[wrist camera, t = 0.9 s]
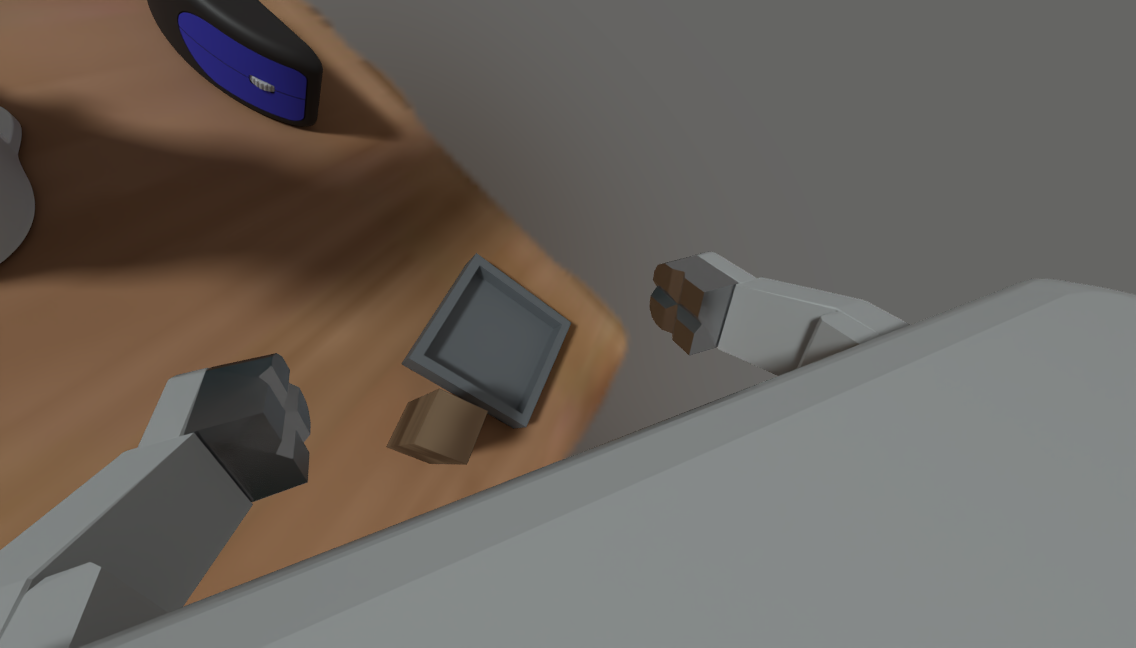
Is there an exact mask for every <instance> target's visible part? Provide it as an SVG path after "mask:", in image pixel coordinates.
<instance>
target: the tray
mask: <svg viewBox="0 0 1136 648" xmlns="http://www.w3.org/2000/svg"><path fill="white" fill-rule="evenodd" d="M570 324H571V322H570V321H568V320H567V319H565V318H564V317H563V316H561V315H560V314H559V313H557V312H556V311H555V310H553V309H552V308H550V307H549V306H548V305H546V304H545V303H544V302H542V301H541V300H540V299H538V298H537V297H535V296H534V295H533V294H531V293H530V292H529V291H527V290H526V289H524V288H523V287H522V286H520V285H519V284H518V283H516V282H515V281H514V280H512V279H511V278H509V277H508V276H507V275H505V274H504V273H503V272H501V271H500V270H499V269H497V268H496V267H494V266H493V265H492V264H490V263H489V262H488V261H486V260H485V259H484V258H482V257H481V256H479V255H478V254H477V253H476V254H475V255H474V256H473V257H472V258H471V259H470V260H469V262H468V263H467V264H466V265H465V267H464V268H463V270H462V271H461V273H460V274H459V276H458V278H457V279H456V281H455V282H454V284H453V285H452V287H451V288H450V290H449V291H448V293H447V294H446V296H445V298H444V299H443V301H442V302H441V304H440V305H439V307H438V308H437V310H436V311H435V313H434V314H433V316H432V318H431V319H430V321H429V322H428V324H427V325H426V327H425V328H424V330H423V331H422V333H421V334H420V336H419V338H418V339H417V341H416V342H415V344H414V345H413V347H412V348H411V350H410V351H409V353H408V354H407V356H406V358H405V359H404V361H403V362H402V365H404V366H406V367H408V368H409V369H411V370H413V371H414V372H416V373H418V374H420V375H421V376H423V377H425V378H427V379H428V380H430V381H432V382H434V383H435V384H437V385H439V386H440V387H442V388H444V389H446V390H447V391H449V392H451V393H453V394H454V395H456V396H458V397H460V398H461V399H463V400H465V401H467V402H469V403H471V404H474V405H476V406H478V407H480V408H482V409H484V410H487V411H488V412H487V414H489V415H491V416H493V417H494V418H496V419H498V420H499V421H501V422H503V423H505V424H506V425H508V426H510V427H512V428H513V429H514V428H522V427H526V426H527V424H528V422H529V419H530V417H531V415H532V412H533V410H534V408H535V406H536V403H537V401H538V399H539V396H540V394H541V392H542V389H543V387H544V385H545V382H546V380H547V378H548V375H549V373H550V371H551V368H552V366H553V364H554V361H555V359H556V357H557V354H558V352H559V350H560V348H561V345H562V343H563V341H564V338H565V336H566V334H567V331H568V329H569V327H570Z"/></svg>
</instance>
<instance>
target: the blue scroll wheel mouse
mask: <svg viewBox="0 0 1136 648" xmlns="http://www.w3.org/2000/svg"><path fill="white" fill-rule="evenodd" d="M147 1H148V5H149V8H150V10H151V13H152V15H153V17H154V19H155V21H156V23H157V25H158V26H159V28H160V30H161V31H162V33H163V34H164V36H165V37H166V38H167V40H168V41H169V42H170V44H171V45H172V46H173V47H174V49H175V50H176V51H177V52H178V53H179V54H180V55H181V56H182V57H183V59H184V60H185V61H186V62H187V63H188V64H189V65H190V66H191V67H193V68H194V69H195V70H196V71H197V72H198V73H199V74H200V75H202V76H203V77H204V78H205V79H206V80H208V81H209V82H210V83H212V84H213V85H214V86H216V87H217V88H218V89H220V90H221V91H223V92H224V93H225V94H227V95H229V96H230V97H232V98H233V99H235V100H237V101H238V102H240V103H242V104H243V105H245V106H247V107H249V108H251V109H253V110H255V111H257V112H259V113H261V114H263V115H266V116H268V117H270V118H273V119H275V120H278V121H281V122H284V123H287V124H291V125H295V126H311V125H313V124H314V123H315V122H316V121H317V115H318V106H319V98H320V90H321V81H322V73H323V67H322V64H321V62H320V60H319V58H318V57H317V55H316V54H315V53H314V51H313V50H312V49H311V48H310V47H309V46H308V45H307V44H306V43H305V42H304V41H303V40H301V39H300V38H299V37H298V36H297V35H296V34H295V33H294V32H293V31H292V30H290V29H289V28H288V27H287V26H286V25H285V24H284V23H283V22H282V21H281V20H279V19H278V18H277V17H276V16H275V15H274V14H273V13H272V12H271V11H269V10H268V9H267V8H266V7H265V6H264V5H263V4H262V3H261V2H260V1H258V0H147ZM197 43H198V44H197ZM218 59H219V60H218Z"/></svg>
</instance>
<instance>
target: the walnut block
mask: <svg viewBox="0 0 1136 648" xmlns="http://www.w3.org/2000/svg"><path fill="white" fill-rule="evenodd" d="M487 412H488V411H487V410H484V409H482V408H480V407H478V406H476V405H474V404H471V403H469V402H467V401H465V400H463V399H461V398H458V397H456V396H454V395H452V394H450V393H448V392H445V391H443V390H441V389H438V390H435V391H433V392H431V393H429V394H426V395H424V396H422V397H420V398H417V399H415V400H413V401H411V402H408V404H407V406H406V408H405V410H404V412H403V414H402V416H401V418H400V420H399V422H398V424H397V426H396V428H395V430H394V432H393V434H392V436H391V438H390V440H389V442H388V444H387V446H386V447H387V448H390V449H393V450H395V451H398V452H401V453H403V454H406V455H408V456H411V457H414V458H416V459H419V460H422V461H424V462H427V463H429V464H467V463H468V461H469V458H470V456H471V453H472V450H473V448H474V445H475V443H476V440H477V438H478V435H479V433H480V430H481V428H482V425H483V422H484V420H485V417H486V415H487Z"/></svg>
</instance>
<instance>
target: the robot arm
mask: <svg viewBox="0 0 1136 648" xmlns="http://www.w3.org/2000/svg"><path fill="white" fill-rule="evenodd" d="M21 136H22V129H21V125H20V123H19V122H18V120H17V119H16V118H15V117H14V116H13V115H11V114H10V113H9V112H8V111H7V110H6V109H4V108H2V107H1V106H0V263H1V262H3V261H4V260H5V259H6V258H7V257H9V256H10V255H11V254H12V253H13V252H14V251H15V250H16V249H17V248H18V247H19V245H20V244H21V243H22V242H23V240H24V239H25V237H26V235H27V234H28V232H29V230H30V227H31V225H32V222H33V218H34V212H35V200H34V194H33V190H32V187H31V184H30V182H29V180H28V178H27V176H26V174H25V172H24V170H23V168H22V166H21V164H20V161H19V158H18V152H19V148H20V143H21ZM653 281H654V282H655V284H656V286H657V287H656V289H655V290H654V291H653V293H652V295H651V298H650V311H651V315H652V318H653V320H654V321H655V323H656V324H657V325H658V326H659V327H660V328H661V329H662V330H665V331H667V332H670V333H672V337H673V338H672V339H673V341H674V342H675V343H676V344H677V345H679V346H680V347H681V348H682V349H683V350H684V351H685V352H686V353H687V354H688V355H693V354H696V353H699V352H703V351H706V350H709V349H713V348H716V347H718V348H717V349H719V350H721V351H724V352H726V353H728V354H731V355H733V356H735V357H737V358H739V359H742V360H744V361H746V362H748V363H750V364H753V365H755V366H757V367H759V368H762V369H764V370H766V371H768V372H771V373H773V374H775V375H777V377H775V378H772V379H770V380H767V381H765V382H762V383H760V384H757V385H754V386H752V387H749V388H746V389H744V390H741V391H739V392H736V393H733V394H731V395H729V396H726V397H723V398H721V399H718V400H715V401H713V402H710V403H708V404H705V405H703V406H700V407H698V408H695V409H692V410H689V411H687V412H684V413H682V414H679V415H677V416H674V417H672V418H669V419H666V420H664V421H661V422H658V423H656V424H653V425H651V426H648V427H646V428H643V429H640V430H638V431H635V432H633V433H630V434H628V435H625V436H622V437H620V438H618V439H615V440H612V441H610V442H607V443H605V444H602V445H599V446H597V447H594V448H592V449H589V450H586V451H584V452H581V453H579V454H576V455H573V456H571V457H568V458H566V459H563V460H561V461H558V462H555V463H553V464H550V465H548V466H545V467H542V468H540V469H537V470H535V471H532V472H530V473H527V474H524V475H522V476H519V477H517V478H514V479H512V480H509V481H506V482H504V483H501V484H499V485H496V486H493V487H491V488H488V489H486V490H483V491H481V492H478V493H475V494H473V495H470V496H468V497H465V498H463V499H460V500H457V501H455V502H452V503H450V504H447V505H445V506H442V507H439V508H437V509H434V510H432V511H429V512H426V513H424V514H421V515H419V516H416V517H414V518H411V519H408V520H406V521H403V522H401V523H398V524H396V525H393V526H390V527H388V528H385V529H383V530H380V531H377V532H375V533H372V534H370V535H367V536H365V537H362V538H359V539H357V540H354V541H352V542H349V543H347V544H344V545H341V546H339V547H336V548H334V549H331V550H328V551H326V552H323V553H321V554H318V555H316V556H313V557H310V558H308V559H305V560H303V561H300V562H298V563H295V564H292V565H290V566H287V567H285V568H282V569H279V570H277V571H274V572H272V573H269V574H267V575H264V576H261V577H259V578H256V579H254V580H251V581H249V582H246V583H243V584H241V585H238V586H236V587H233V588H230V589H228V590H225V591H223V592H220V593H218V594H215V595H212V596H210V597H207V598H205V599H202V600H200V601H197V602H194V603H192V604H189V605H187V606H184V604H185V603H186V601H187V600H188V598H189V597H190V596H191V594H192V593H193V591H194V590H195V588H196V587H197V585H198V584H199V582H200V581H201V580H202V578H203V577H204V575H205V574H206V572H207V571H208V569H209V568H210V566H211V565H212V563H213V562H214V561H215V559H216V558H217V556H218V555H219V553H220V552H221V550H222V549H223V547H224V546H225V544H226V543H227V542H228V540H229V539H230V537H231V536H232V534H233V533H234V531H235V530H236V528H237V527H238V526H239V524H240V523H241V521H242V520H243V518H244V517H245V515H246V514H247V512H248V511H249V509H250V508H251V507H252V505H253V504H252V503H251V502H254V501H257V500H259V499H262V498H265V497H268V496H271V495H273V494H276V493H279V492H282V491H285V490H287V489H290V488H293V487H296V486H299V485H301V484H304V483H307V482H308V468H309V451H308V450H307V448H306V446H305V444H304V441H305V440H306V439H307V438H308V436H309V435H310V423H311V422H310V417H309V411H308V407H307V404H306V401H305V398H304V396H303V394H302V392H301V390H300V388H299V387H297V386H295V385H292V384H290V383H289V373H290V369H289V368H288V366H287V364H286V363H285V361H284V359H283V357H282V356H280V355H279V354H277V353H275V354H270V355H265V356H261V357H256V358H251V359H247V360H242V361H237V362H233V363H228V364H223V365H219V366H214V367H211V368H204V369H200V370H196V371H192V372H188V373H183V374H179V375H176V376H174V377H172V378H170V379H169V380H168V381H167V384H166V386H165V388H164V390H163V393H162V395H161V397H160V399H159V401H158V404H157V406H156V408H155V410H154V412H153V415H152V417H151V419H150V421H149V424H148V426H147V428H146V430H145V432H144V435H143V437H142V439H141V441H140V443H139V446H138V448H135V449H132V450H128V451H125V452H124V453H122V454H121V455H120V456H119V457H117V458H116V459H115V460H113V461H112V462H111V463H110V464H108V465H107V466H106V467H105V468H103V469H102V470H101V471H100V472H98V473H97V474H96V475H95V476H93V477H92V478H91V479H90V480H88V481H87V482H86V483H85V484H83V485H82V486H81V487H80V488H78V489H77V490H76V491H75V492H73V493H72V494H71V495H69V496H68V497H67V498H66V499H64V500H63V501H62V502H61V503H59V504H58V505H57V506H56V507H54V508H53V509H52V510H51V511H49V512H48V513H47V514H46V515H44V516H43V517H42V518H41V519H39V520H38V521H37V522H36V523H34V524H33V525H32V526H30V527H29V528H28V529H27V530H25V531H24V532H23V533H22V534H20V535H19V536H18V537H17V538H15V539H14V540H13V541H12V542H10V543H9V544H8V545H7V546H5V547H4V548H3V549H2V550H0V648H1136V295H1135V294H1131V293H1126V292H1123V291H1117V290H1113V289H1107V288H1103V287H1097V286H1091V285H1086V284H1080V283H1073V282H1067V281H1061V280H1055V279H1044V278H1039V279H1030V280H1026V281H1023V282H1019V283H1016V284H1014V285H1011V286H1009V287H1007V288H1004V289H1002V290H999V291H997V292H994V293H992V294H989V295H986V296H984V297H981V298H978V299H976V300H973V301H971V302H968V303H966V304H963V305H960V306H958V307H955V308H953V309H950V310H948V311H945V312H942V313H940V314H937V315H935V316H932V317H929V318H927V319H925V320H922V321H919V322H917V323H914V324H911V325H910V324H908V323H906V322H904V321H903V320H901V319H899V318H897V317H895V316H893V315H891V314H889V313H888V312H886V311H884V310H882V309H880V308H878V307H876V306H875V305H873V304H871V303H869V302H867V301H865V300H862V299H857V298H853V297H848V296H844V295H839V294H835V293H830V292H826V291H821V290H817V289H812V288H808V287H803V286H799V285H794V284H790V283H785V282H781V281H776V280H772V279H767V278H763V277H761V278H756V277H754V276H752V275H751V274H749V273H748V272H746V271H744V270H743V269H741V268H739V267H738V266H736V265H734V264H733V263H731V262H729V261H728V260H726V259H725V258H723V257H721V256H720V255H718V254H717V253H715V252H704V253H700V254H697V255H693V256H691V257H687V258H683V259H679V260H675V261H671V262H667V263H664V264H660V265H658V266H657V267H656V270H655V271H654V277H653ZM183 606H184V607H183Z"/></svg>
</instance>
